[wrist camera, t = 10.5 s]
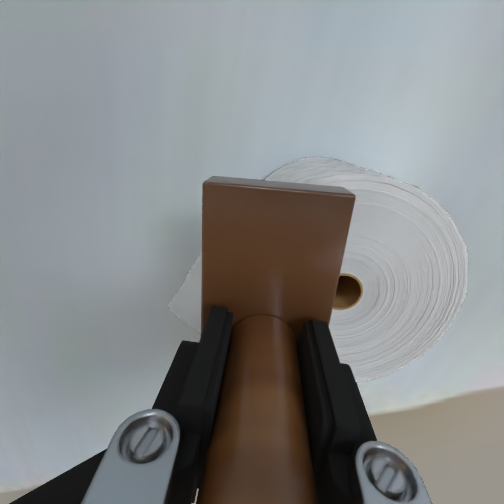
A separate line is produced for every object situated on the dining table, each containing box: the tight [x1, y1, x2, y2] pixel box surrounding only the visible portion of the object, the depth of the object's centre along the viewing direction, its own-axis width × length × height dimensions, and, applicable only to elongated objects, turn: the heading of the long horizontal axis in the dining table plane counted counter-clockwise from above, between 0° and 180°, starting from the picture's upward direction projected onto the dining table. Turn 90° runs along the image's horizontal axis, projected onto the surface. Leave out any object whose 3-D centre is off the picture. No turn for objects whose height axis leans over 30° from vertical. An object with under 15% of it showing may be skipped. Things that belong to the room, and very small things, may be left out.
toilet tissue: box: [168, 157, 468, 383], centre depth 18 cm, size 11×12×10 cm
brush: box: [196, 176, 356, 504], centre depth 9 cm, size 11×4×9 cm, turn 175°
